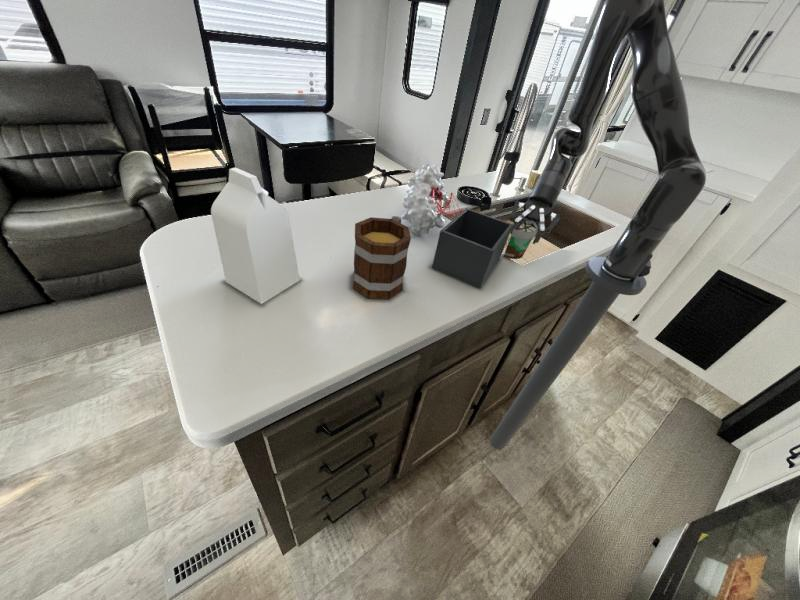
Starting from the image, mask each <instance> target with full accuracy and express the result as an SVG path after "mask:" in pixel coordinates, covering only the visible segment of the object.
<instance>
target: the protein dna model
mask: <svg viewBox="0 0 800 600" xmlns="http://www.w3.org/2000/svg"><path fill="white" fill-rule="evenodd" d="M444 176H445V174H444V172H441V171H440V169H439V164H438V163H435V164H433V165H432V166H431V164H430V162H426V163H425V164H423V165H422V169H419V168H417V169H415V172H414V174H412V175H410V177H409V178H408V182H407V186H408V189H407V190H406V194H407V195H405V197H403V201H402V206H403V208H404V209H405V212H404V213H403V215H401V217H400V218H401V220H407V221H408V223H409V224H410V226H411V227H412V228H411V231H412V232H413V233H414V234H415V235H416V236H418V235H421V234H425V235H429V234H430V230H431V229H434V228H437V229H443V228H444V227H445V226H446V225H445V224H446V219H445V218H443V215H448V216H450V217H454V218H455V217H457V216H458V214H457V211H456V208H455V205H452V206H453V209H454V213H455V214H452V212H451V209H450V208H448V207H449V206H450V204H451V203H454V201H455V202H456V201H457V199H456V198H455V196H454V193H453V192H450V197H448V196H447V194H448V191H447V189H445V186H444V183H443V181H442V178H443V177H444ZM453 199H454V200H453ZM444 200H445V201H446V202H447V204H446V206H444V208H443V207H442V206H443V203H442V202H443V201H444ZM438 201H439V202H438ZM450 202H451V203H450ZM456 206H457V208H458V211H459V214H460V213H461V212H462V211H463V207H461V208H460V207H459V204H458V203H456ZM447 208H448V210H449V213H447V212H446V209H447ZM436 209H437V210H436Z"/></svg>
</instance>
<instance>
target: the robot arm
mask: <svg viewBox="0 0 800 600" xmlns="http://www.w3.org/2000/svg"><path fill="white" fill-rule="evenodd" d="M596 26H597V27H596V30H595V34H594V39H593V42H592V46H591V50H590V53H589V57H588V61H587V63H586V66H585V67H586V68H585V70H584V73H583V77H582V79H581V82H580V85H579V88H578V90H577V93H576V95H575V98H574V100H573V103H572V105H571V108H570V110H569V112H568V116H567V117H568V118H567V119H568V121H569V122H570V123H571V124H573V125H575V126H576V127H578V128H579V130H577V129H574V128H569V127H560V128H559V129H557V130H556V132H555V133H554V135H553V136H552V140H551V145H550V151H549V156H548V160H547V162H546V165H545V167H544V168H543V171H542V173H541V174H540V176H539V178H537V181H536V183H535V185H534V187H533V189H532V191H531V192H530V195H529V197H528V198H527V201H525V202H520V200H518V199H517V200H515V201H514V205H513V207H512V211H511V213H510V217H509V221H510V222H512V224H513V227H512V229H511V232H510V235H511V234H512V232H513V230H514V229H516V228H517V226H518V225H519V224H520V223H521V222H522V221H524V220H525V219H528V220H532V221H534V222H535V223H538V224H537V226H538V231H537V235H536V237H534V238H533V241H532V244H533V245H535V244H538V243H539V242H540V240H541V238H542V237H543V235H544V234H546V235H549V234H551V232H552V231H553V230H554V228H555V226H557V223H558V222H559V220H560V218H561V216H562V215H561V214H560V213H555V212H553V208H554V207H555V204H556V201H557V200H558V198H559V196H560V194H561V191H562V189H563V187H564V185H565V181H566V179H567V177H568V175H569V173H570V171H571V168H572V166H573V165H572V164H573V163H572V160H571V159H570V158H569V157H571V158H575V159H577V158H580V157H582V156H583V155H585V154H586V152H587V151H588V149H589V146H590V143H591V135H592V131H593V125H594V121H595V120H596V117H597V115H598V112H599V110H600V108H601V106H602V104H603V101H604V100H605V97H606V95H607V92H608V89H609V84H610V80H611V73H612V68H613V64H614V61H615V58H616V56H617V54H618V51H619V49H620V47H621V45H622V43H623V41H625V38H626V37H627V39H628V40H627V41H628V43H629V46H630V49H631V53H632V61H633V62H632V63H633V64H632V75H631V85H630V86H631V87H630V88H631V89H630V91H631V100H632V103H633V106H634V111H635V114H636V117H637V120H638V122H639V124H640V127H641V129H642V131H643V133H644V134H645V136H646V138H647V140H648V141H649V143H650V145H651V147H652V149H653V152H654V155H655V160H656V167H657V175H658V179H657V180H656V182H655V184H654V185H653V187H652V188H651V190H650V191H649V193H648V194H647V196H646V198H645V199H644V201H643V202H642V204H641V205H640V206H639V208H638V209H637V210H636V212H635V214H634V215H633V217H632V218H631V220H630V221H629V223H628V224H627V226H626V227H625V229H624V230H623V232H622V233H621V235H620V237H619V238H618V240H617V241H616V243H615V244H614V246H613V247H612V249H611V251H610V252H609V253H608V255H607V257H606V259H605V261H604V262H603V264H602V265H601V269H602V270H603V271H604V272H605V273H606V274H607V275H609V276H611V277H613V278H615V279H617V280H621V281H629V282H632V283H633V282H634V280H635V279H636V278H637V276H638V277H642V276H643V277H646V276H648V275H649V274H650V273H651V269H652V262H651V259H652V258H653V253H654V252H655V250H656V249H657V247H658V246H659V245H660V243H662V241H663V240H664V238H665V237H666V236H667V234H668V233H669V232H670V231H671V230H672V228H673V227H674V225H675V224H677V222H678V221H680V219H682V217H683V215H684V214H685V213H686V212H687V210H688V209H689V208H690V207H691V205H692V204H693V203H694V202H695V201H696V199H697V198H698V196H699V195H700V194H701V192H702V191H703V189H704V187H705V185H706V183H707V182H706V181H707V172H706V171H707V170H706V169H705V166H704V164H703V162H702V160H701V159H700V157H699V154H698V152H697V149H696V147H695V143H694V142H693V138H692V134H691V128H690V117H689V108H688V102H687V101H688V100H687V96H686V92H685V88H684V84H683V80H682V76H681V73H680V69H679V67H678V62H677V58H676V55H675V52H674V48H673V45H672V42H671V41H672V40H671V38H670V34H669V29H668V21H667V13H666V6H665V0H605V1H604V3H603V5H602V7H601V11H600V15H599V19H598V23H597V25H596ZM567 156H568V157H567ZM522 208H523V212H522V213H521V214H520V215H519V216H518V217H516V215H517V212H518V211H520V210H521V209H522ZM548 218H550V221H551V222H550V224H549V226H548V227H546V226H545V225H546V224H545V221H546V219H548Z"/></svg>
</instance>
